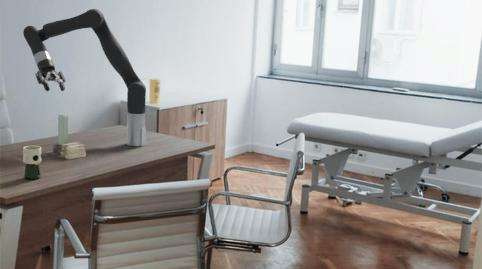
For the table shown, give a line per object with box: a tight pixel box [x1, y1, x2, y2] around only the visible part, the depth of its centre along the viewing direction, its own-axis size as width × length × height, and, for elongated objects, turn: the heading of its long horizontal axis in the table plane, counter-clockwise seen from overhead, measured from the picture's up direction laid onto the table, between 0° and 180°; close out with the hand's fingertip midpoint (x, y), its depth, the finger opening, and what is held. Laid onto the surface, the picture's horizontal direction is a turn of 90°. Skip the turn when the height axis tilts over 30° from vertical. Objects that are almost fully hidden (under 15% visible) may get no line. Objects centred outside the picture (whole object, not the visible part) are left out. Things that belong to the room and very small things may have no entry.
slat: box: [57, 114, 69, 146], centre depth 279 cm, size 5×2×18 cm, turn 50°
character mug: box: [22, 145, 42, 180], centre depth 241 cm, size 11×7×13 cm, turn 162°
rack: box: [45, 141, 88, 161], centre depth 278 cm, size 18×12×7 cm, turn 50°
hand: (55, 90), depth 285 cm, fingers open, 8 cm apart
